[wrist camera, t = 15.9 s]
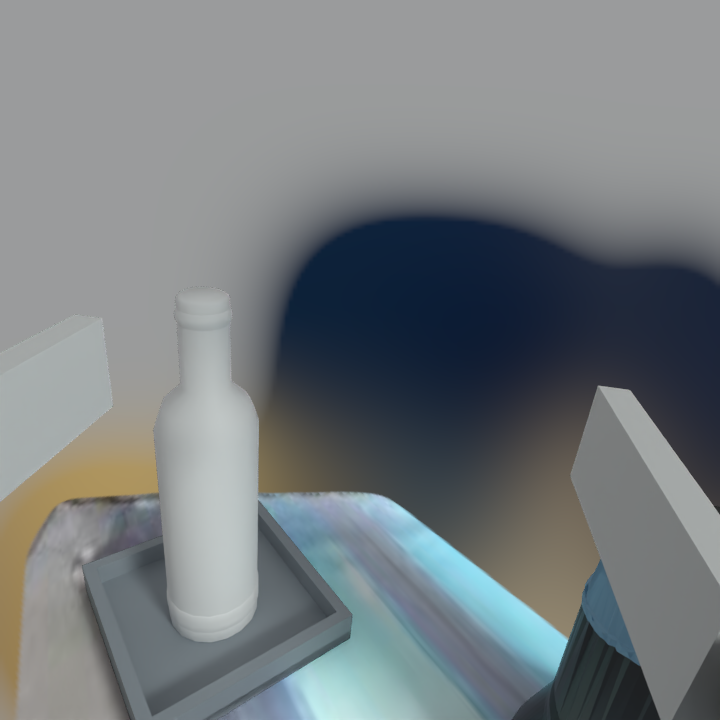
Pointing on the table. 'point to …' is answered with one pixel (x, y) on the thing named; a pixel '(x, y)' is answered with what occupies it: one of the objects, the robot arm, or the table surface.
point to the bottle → (208, 477)
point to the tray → (220, 658)
